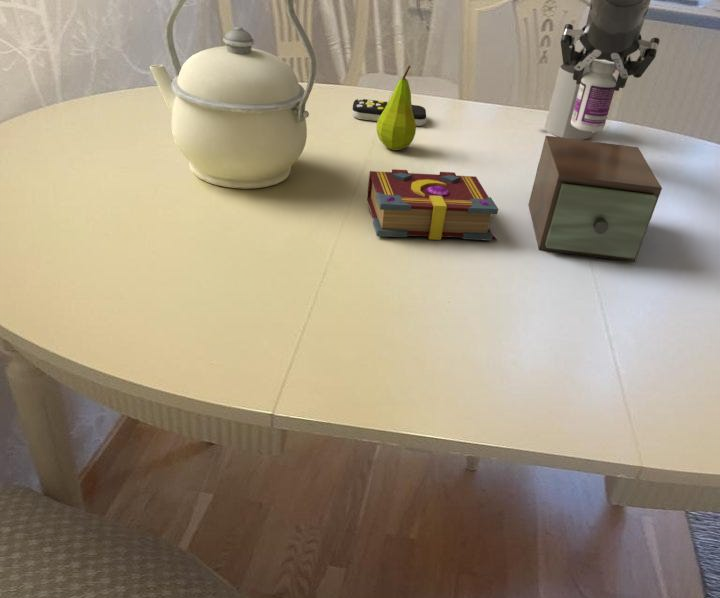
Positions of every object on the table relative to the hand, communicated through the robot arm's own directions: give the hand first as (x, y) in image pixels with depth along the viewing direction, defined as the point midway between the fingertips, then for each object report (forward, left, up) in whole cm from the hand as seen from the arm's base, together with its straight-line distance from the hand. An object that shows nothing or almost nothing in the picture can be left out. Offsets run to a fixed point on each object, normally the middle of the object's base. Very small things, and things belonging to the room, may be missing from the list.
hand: (598, 81), depth 118 cm
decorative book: (+4, +42, -12) cm, 43 cm away
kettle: (+34, +48, -12) cm, 59 cm away
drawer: (-14, +31, -11) cm, 35 cm away
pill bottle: (-1, +2, -6) cm, 7 cm away
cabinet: (-12, +29, -11) cm, 33 cm away
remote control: (+32, +10, -12) cm, 35 cm away
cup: (+7, -11, -12) cm, 18 cm away
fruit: (+23, +22, -12) cm, 33 cm away
